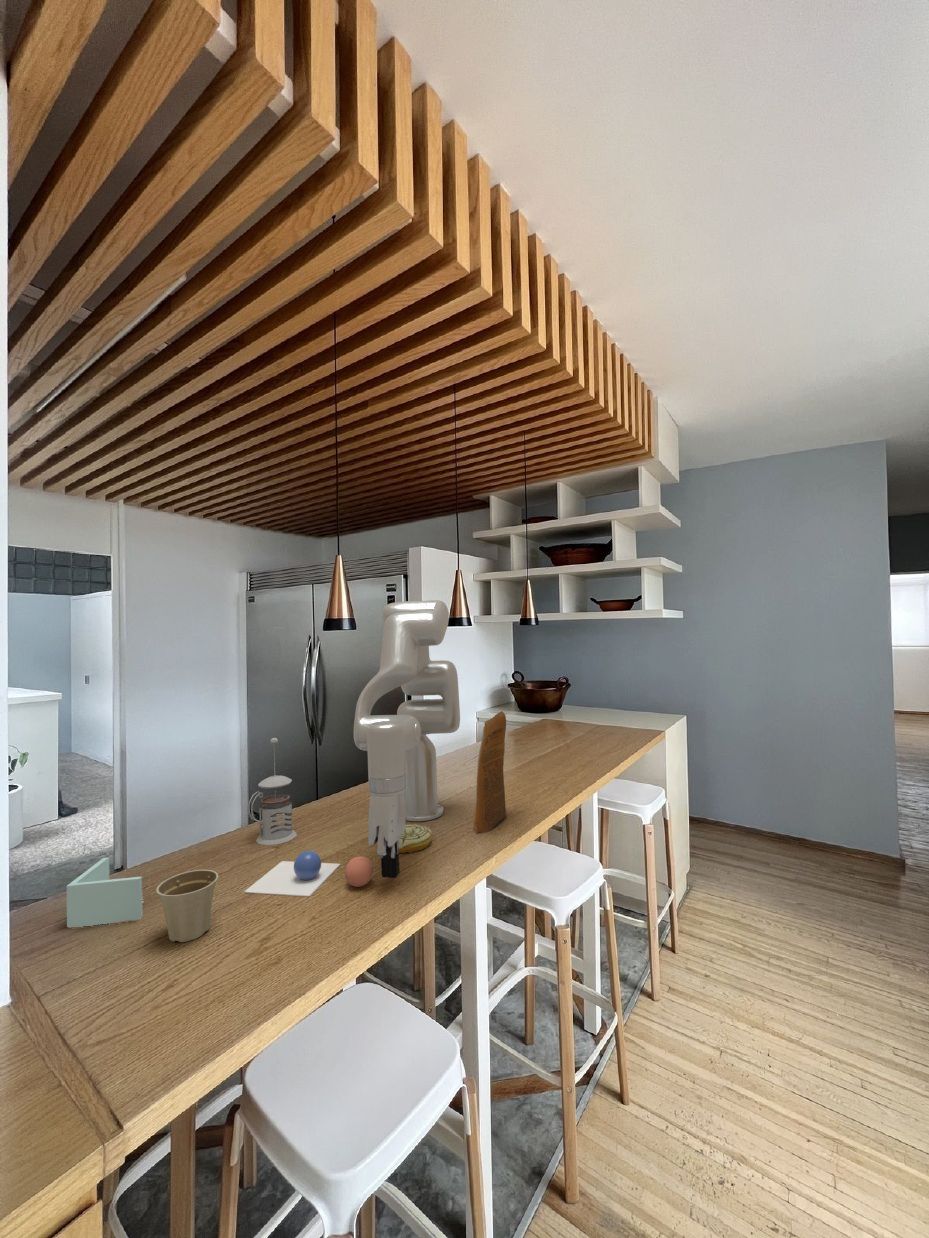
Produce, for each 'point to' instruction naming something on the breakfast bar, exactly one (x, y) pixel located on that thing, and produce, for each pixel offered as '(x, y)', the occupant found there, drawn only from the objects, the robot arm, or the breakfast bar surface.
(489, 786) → the pancake mix bag
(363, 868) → the pink smooth round ball
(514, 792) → the breakfast bar surface
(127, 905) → the right angle wall
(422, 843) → the decorated donut
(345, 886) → the breakfast bar surface
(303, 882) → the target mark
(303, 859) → the blue ball
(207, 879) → the flower pot
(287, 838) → the french press
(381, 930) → the breakfast bar surface
